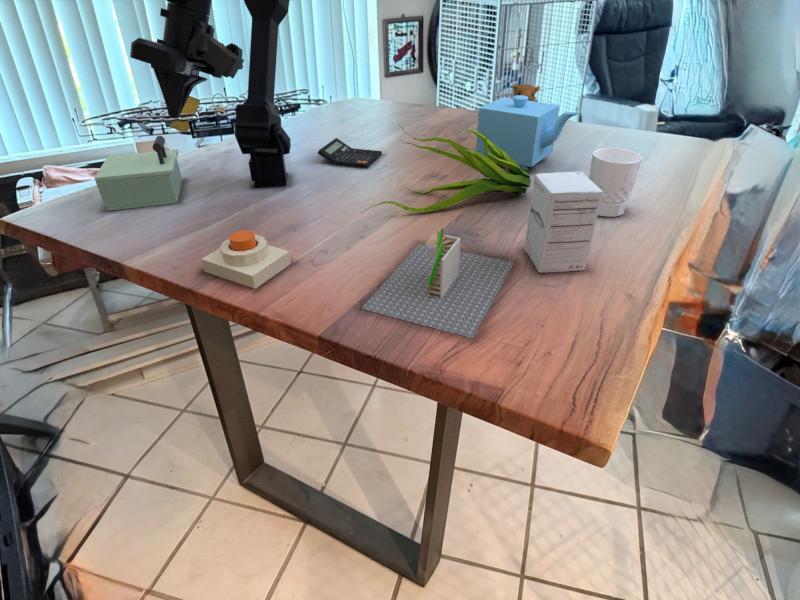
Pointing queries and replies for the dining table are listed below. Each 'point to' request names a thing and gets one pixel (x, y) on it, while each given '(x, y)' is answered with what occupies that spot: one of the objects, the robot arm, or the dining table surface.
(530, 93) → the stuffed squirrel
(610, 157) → the white cup
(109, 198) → the green lidded box
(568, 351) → the dining table surface
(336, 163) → the calculator
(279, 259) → the control block
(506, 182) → the decorative plant
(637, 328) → the dining table surface
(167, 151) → the box lid
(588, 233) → the white packaging box
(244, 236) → the button
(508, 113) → the teapot
